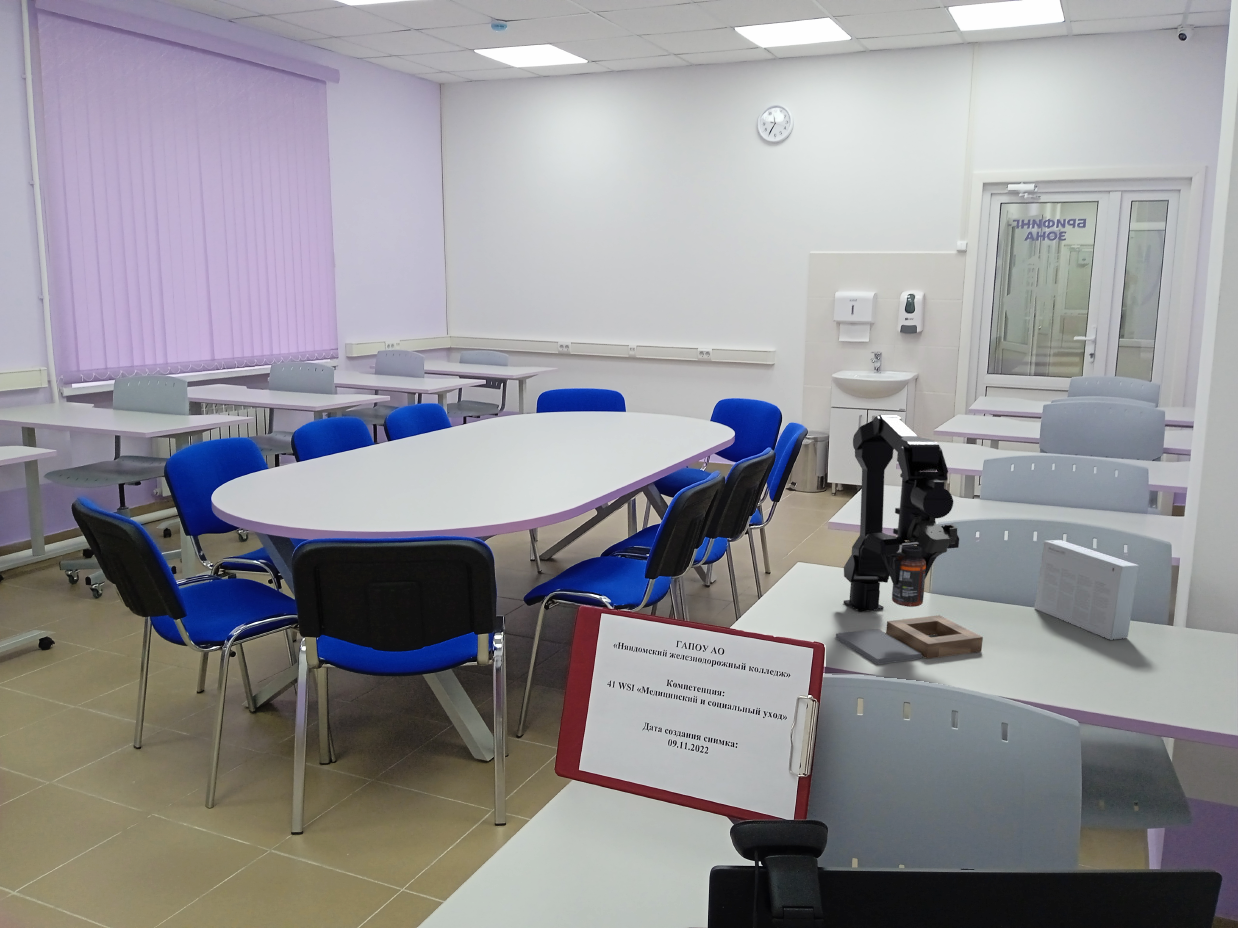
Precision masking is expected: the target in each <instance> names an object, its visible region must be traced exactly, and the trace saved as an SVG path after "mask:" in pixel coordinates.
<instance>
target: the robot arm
mask: <svg viewBox="0 0 1238 928" xmlns="http://www.w3.org/2000/svg"><path fill="white" fill-rule="evenodd" d="M852 445H853V449H854V458H855V459H856V461H857V462H858V465H859V466H860V468H861V493H860V496H861V497H860V524H859V526H860V528H859V535H858V537H857V539H856V540H855V542H854V543H853V545H852V546H851V555H849V558H848V559H847V561H846V562H845V564H844V566H843V577H844V578H845V579H846V580H847V581H848V582H849V583H850V589H849V599H846V600H843V604H845V605H846V606H848V607H850V608H852V609H854V610H856V611H857V612H868V611H880V610H881V611H882V610H884V608H885V607H884V605H881V604H880V594H881V591H880V586H881V583H885V584H886V583H887V584H888V582H889V579H891V583H892V585H893V584H894V585H898V582H899V577H900V567H901V560H902V559H903V558H904V557H905V556H906V554H903V553H901V550H902V546H911V545H915V546H919V547H921V548H922V555H921V557H922V558H923V559H924V560H925V561H926V571H925V579H926V578H927V576H928V574H929V572H930V570H931V567H932V566H933V565H934V564H933V563H934V562H935V561H936V559H937V558H938V557H940V556H941V555H942V554H944V553H945V554H946V553H947V552H948V549H949V550H950V549H955V548H956V549H957V548H959V546H960V536H959V535H958V527H957V526H956V525H955V524H953V523H952V524H945V525H943V524H937V521H936V519H940V518H941V519H942V518H944V517H946V516H948V514H950V512H951V511H952V509H953V507H954V499H953V496H952V494H951V492H950V491H949V490H947V489H946V488H945V481H946V482H947V481H948V473H949V469H948V467H947V463H946V462H947V461H946V460H945V457H944V454H943V450H942V448H941V446H940V444H939V443H938V442H937V441H935V440H934V439H930V438H926V437H921V436H919V435H917V434H916V433H915V432H914V431H912V429H910V427H908V426H907V425H906V424H905V423H904V422H903V420H902V417H901V416H898V415H895V414H879V415H876V416H875V417H873V419H872V420H871V421H868V422H867V423H864V424H863V425H861V426H859V427H858V429H857V430H856V432H855V433H854V435H853V437H852ZM894 450H895V452H896V453H897V458H896V461H897V464H898V466H899V468H900V471H901V473H900V475H899V476H900V478H901V488H900V489H901V491H900V502H899V507H895V509H894V514H897V515H898V523H897V527H896V528H895V527H893V530H892V531H893V532H892V534H894V535H896V536H892V535H890V534H887V533H885V532H884V531H883V526H884V525H883V524H884V500H885V499H884V498H885V497H884V496H885V495H884V493H885V470H886V469H887V467H888V466H889V464H890V463H891V461H892V460H893V458H894V457H893V456H894Z"/></svg>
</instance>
